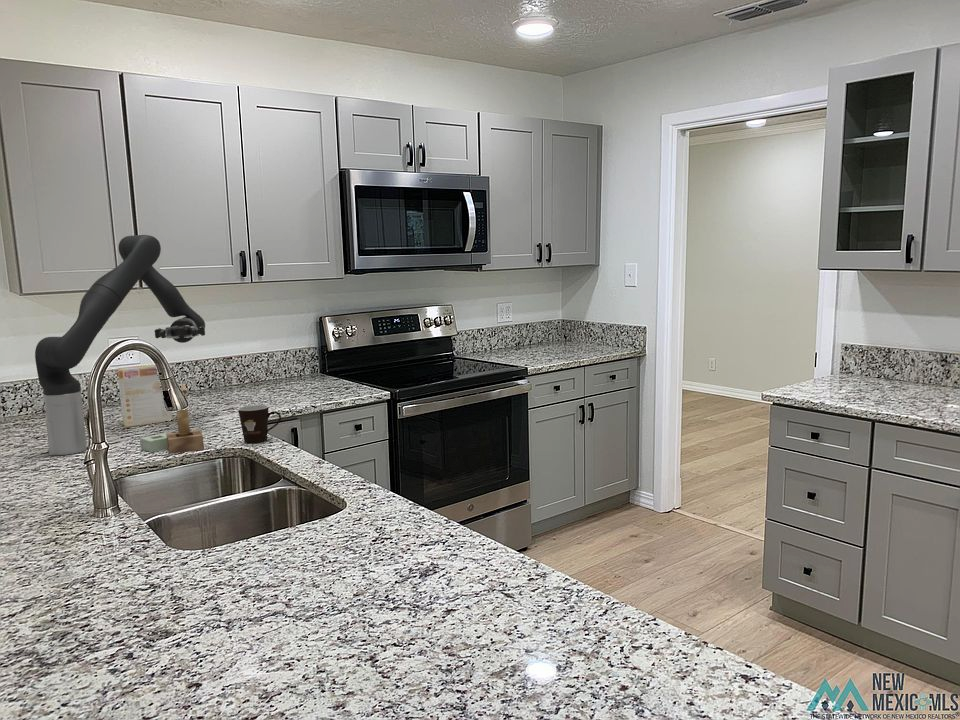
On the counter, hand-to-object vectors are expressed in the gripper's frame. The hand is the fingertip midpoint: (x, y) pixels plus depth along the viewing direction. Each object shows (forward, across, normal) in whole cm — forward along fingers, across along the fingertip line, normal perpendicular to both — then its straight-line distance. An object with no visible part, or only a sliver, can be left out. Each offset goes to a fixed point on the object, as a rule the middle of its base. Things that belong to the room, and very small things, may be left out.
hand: (178, 333), depth 215 cm
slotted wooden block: (+14, +1, +32) cm, 35 cm away
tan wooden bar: (+14, +1, +32) cm, 35 cm away
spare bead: (+10, -7, +32) cm, 34 cm away
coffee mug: (+15, +21, +32) cm, 41 cm away
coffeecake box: (-32, -15, +32) cm, 48 cm away
